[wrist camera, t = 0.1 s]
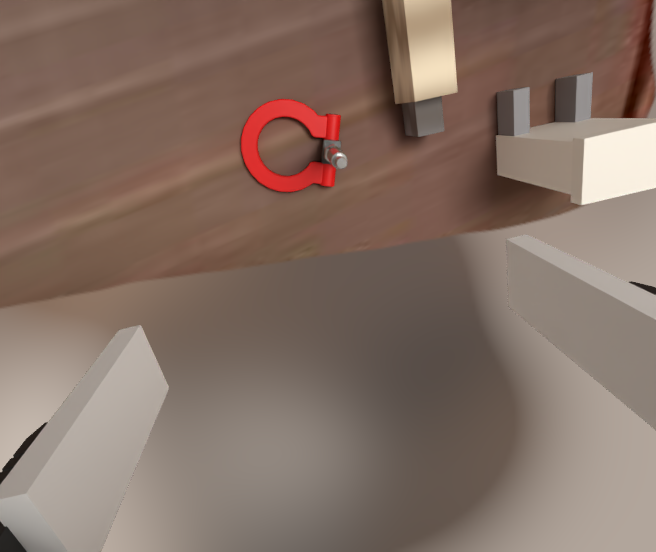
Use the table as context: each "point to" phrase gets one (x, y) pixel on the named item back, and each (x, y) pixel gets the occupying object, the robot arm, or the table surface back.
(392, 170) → the table surface
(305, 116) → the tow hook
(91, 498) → the robot arm
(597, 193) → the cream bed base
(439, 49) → the rail
